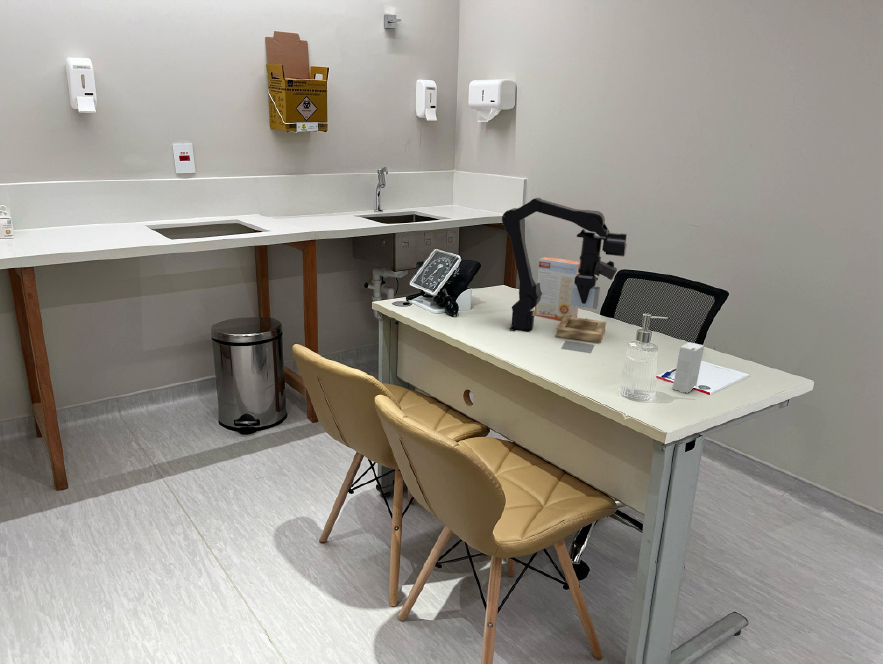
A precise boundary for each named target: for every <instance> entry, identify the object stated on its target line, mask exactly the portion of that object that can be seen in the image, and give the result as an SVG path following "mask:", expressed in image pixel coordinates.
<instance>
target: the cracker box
mask: <svg viewBox="0 0 883 664" xmlns="http://www.w3.org/2000/svg"><path fill="white" fill-rule="evenodd" d="M579 266H580V261H578V260H577V261H576V260H571V259H570V260H569V259H565V258H560V257H559V258H558V257H551V256H544V257H541V258H539V263H538V269H537V270H538V273H537V282H536V283H540V290H541V292H542V295H541V300H540V302H539V303H538V304H537V305H536V306H535V307H534V311H533V316H534V317H540V318H543V319H548V320H554V321H558V322H561V320H562V319H563V317H564V316H569V317H576V318H578V313H579V307H577V306H571V299H572V290H573V286H574V281H575V277H576V275H577V274H579V273H578V269H579Z"/></svg>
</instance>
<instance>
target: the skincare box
mask: <svg viewBox="0 0 883 664" xmlns="http://www.w3.org/2000/svg"><path fill="white" fill-rule="evenodd" d="M704 348H705V345H703V344H698V343H694V342H687V343H685V344H683V345H682V346H680V347H679V352H678V358H677V363H676V368H675V373H674V380H673V385H672V390H674V389H675V390H674V391H676V390H679V391H682V392H681V393H683V392H686V393H685V394H689V393H690V392H692V391H693V390H694V389H693V387H694V386H696V387H697V385H698V379H699V375H700V371H701V369H700V368H701V363H702V359H703V353H704ZM692 389H693V390H692ZM691 390H692V391H691ZM679 391H678V392H679ZM688 392H689V393H688Z"/></svg>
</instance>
